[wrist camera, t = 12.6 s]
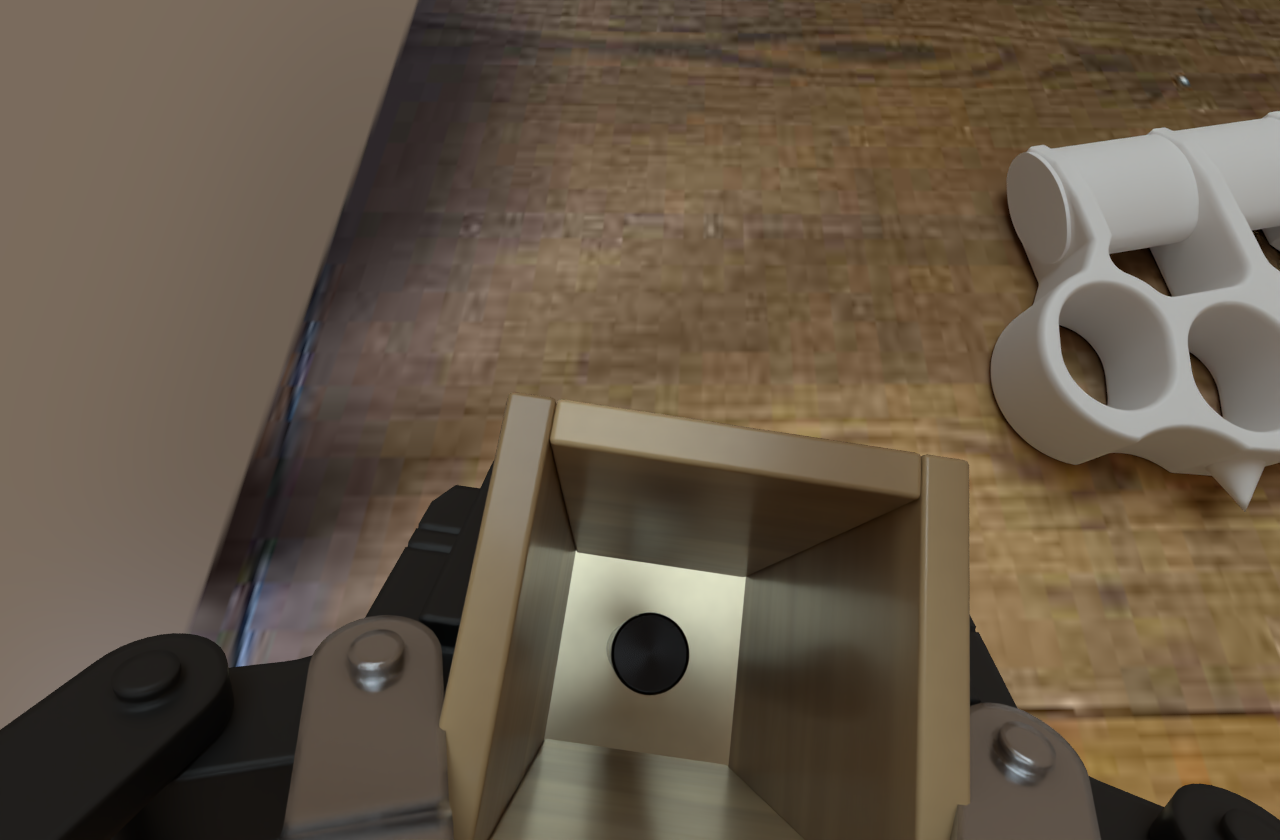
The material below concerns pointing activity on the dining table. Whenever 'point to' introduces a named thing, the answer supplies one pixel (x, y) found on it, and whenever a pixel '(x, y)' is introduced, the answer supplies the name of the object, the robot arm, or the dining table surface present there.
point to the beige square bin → (648, 659)
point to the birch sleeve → (769, 642)
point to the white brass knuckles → (1151, 300)
